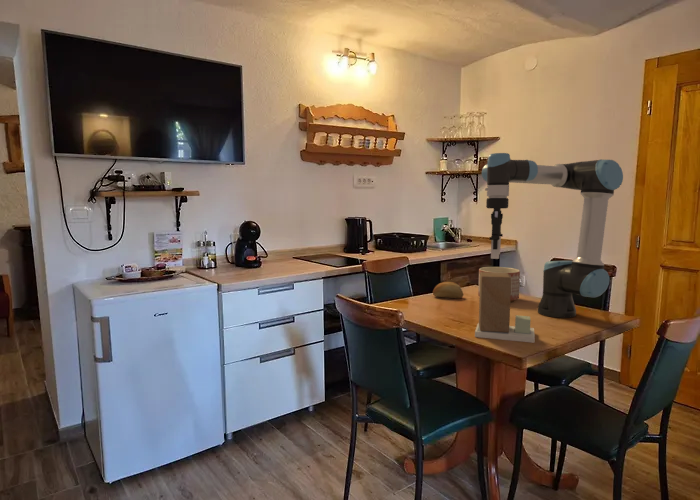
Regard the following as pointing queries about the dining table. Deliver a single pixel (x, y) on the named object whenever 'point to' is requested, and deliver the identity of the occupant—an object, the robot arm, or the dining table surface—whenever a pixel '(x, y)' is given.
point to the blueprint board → (507, 335)
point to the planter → (512, 273)
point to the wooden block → (494, 302)
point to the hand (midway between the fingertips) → (495, 256)
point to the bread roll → (448, 290)
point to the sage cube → (522, 324)
